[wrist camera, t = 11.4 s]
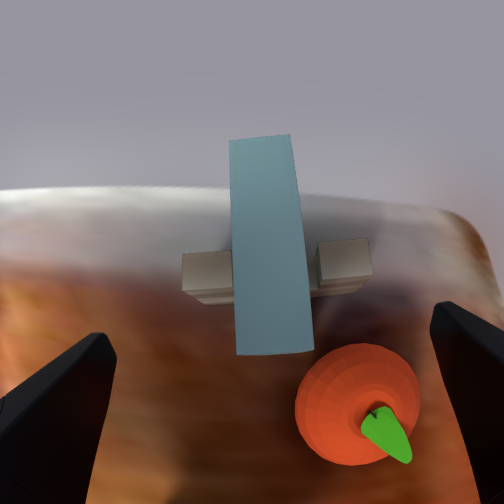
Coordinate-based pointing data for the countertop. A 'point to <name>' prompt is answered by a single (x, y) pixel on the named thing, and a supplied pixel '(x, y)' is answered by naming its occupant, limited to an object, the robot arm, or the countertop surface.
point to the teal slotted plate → (268, 249)
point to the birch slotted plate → (319, 270)
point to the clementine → (358, 405)
